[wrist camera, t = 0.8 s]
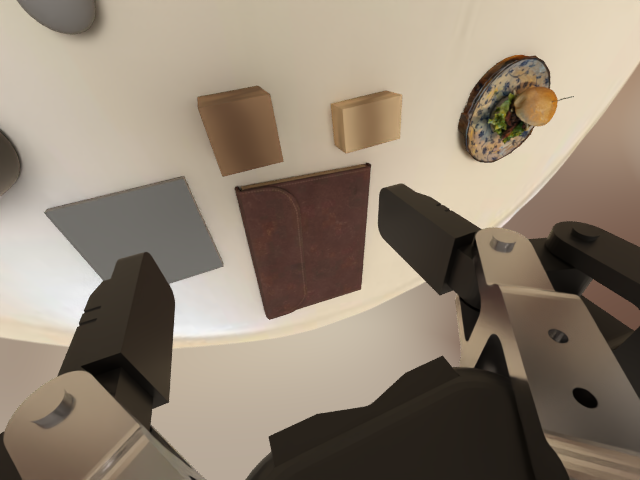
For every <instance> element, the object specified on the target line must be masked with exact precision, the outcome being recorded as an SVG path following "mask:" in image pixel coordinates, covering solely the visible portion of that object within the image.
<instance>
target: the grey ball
mask: <svg viewBox="0 0 640 480" xmlns="http://www.w3.org/2000/svg"><path fill="white" fill-rule="evenodd" d="M17 1H18V3H19V4H20V5H21V6H22V8H23V9H24V10H25V11H26V12H27V13H28V14H29V15H30V16H31V17H33V18H34V19H35V20H36V21H38V22H39V23H41V24H42V25H44V26H46V27H48V28H49V29H52V30H54V31H57V32H60V33H65V34H78V33H81V32H84V31H86V30H87V29H88V28H89V27H90V26H91V25H92V23H93V21H94V18H95V4H94V0H17Z"/></svg>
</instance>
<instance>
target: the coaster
mask: <svg viewBox="0 0 640 480" xmlns="http://www.w3.org/2000/svg"><path fill="white" fill-rule="evenodd" d="M44 213H45V214H46V216H47V217H48V218H49V219H50V220H51V221H52V222H53V224H54V225H55V226H56V227H57V228H58V229H59V230H60V232H61V233H62V234H63V235H64V236H65V237H66V238H67V240H68V241H69V242H70V243H71V244H72V245H73V246H74V248H75V249H76V250H77V251H78V252H79V253H80V254H81V256H82V257H83V258H84V259H85V260H86V261H87V262H88V264H89V265H90V266H91V267H92V268H93V269H94V270H95V272H96V273H97V274H98V275H99V276H100V277H101V278H102V280H103V281H104V280H108V279H111V276H112V273H113V271H114V268H115V265H116V262H117V260H118V259H121V258H125V257H128V256H132V255H136V254H139V253H143V252H148V253H150V254H151V256H152V257H153V259H154V260H155V262H156V264H157V265H158V267H159V269H160V270H161V272H162V274H163V275H164V277H165V279H166V280H167V282H168V284H170V283H173V282H176V281H179V280H182V279H186V278H189V277H192V276H195V275H198V274H201V273H204V272H208V271H211V270H214V269H217V268H220V267H223V262H222V260H221V257H220V255H219V253H218V251H217V249H216V246H215V244H214V242H213V240H212V238H211V235H210V233H209V231H208V229H207V227H206V224H205V222H204V220H203V218H202V216H201V213H200V211H199V209H198V207H197V205H196V202H195V200H194V198H193V196H192V194H191V191H190V189H189V187H188V185H187V183H186V180H185V178H184V176H183V177H179V178H174V179H170V180H166V181H162V182H158V183H154V184H150V185H145V186H141V187H137V188H133V189H129V190H125V191H121V192H116V193H112V194H108V195H104V196H100V197H96V198H91V199H87V200H83V201H79V202H75V203H71V204H67V205H62V206H58V207H54V208H50V209H47V210H46V211H45V212H44Z"/></svg>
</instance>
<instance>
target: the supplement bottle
mask: <svg viewBox="0 0 640 480" xmlns="http://www.w3.org/2000/svg"><path fill="white" fill-rule="evenodd" d="M19 172H20V163H19V158H18V156H17V153H16V151H15V149H14V148H13V146H12V145H11V143H10V142H9V141H8V139H7V138H6V137H5V136H4V135H3V134H2V133H1V132H0V196H2V195H3V194H4V193H5V192H6V191H7V190H8V189H9V188H11V187H12V185H13V184H14V183H15V182H16V180H17V178H18V176H19Z"/></svg>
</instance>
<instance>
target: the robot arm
mask: <svg viewBox="0 0 640 480" xmlns="http://www.w3.org/2000/svg"><path fill="white" fill-rule="evenodd" d="M378 228H379V232H380V234H381V236H382V238H383V239H384V240H385V241H386V242H387V243H388V244H389V245H390V246H391V247H392V248H393V249H394V250H395V251H396V252H397V253H398V254H399V255H400V256H401V257H402V258H403V259H404V260H405V261H406V262H407V263H408V264H409V265H410V266H411V267H412V268H413V269H414V270H415V271H416V272H417V273H418V274H419V275H420V276H421V277H422V278H423V279H424V280H425V281H426V282H427V283H428V284H429V285H430V286H431V287H432V288H433V289H434V290H435V291H436V292H437V293H438V294H439V295H442V294H445V293H447V292H450V291H452V290H454V291H455V292H456V293H457V295H456V299H455V304H456V312H457V320H458V329H459V337H460V345H461V357H460V364H459V367H451V365H450V364H449V363H448V362H447V360H446V359H445V358H444V357H443V356H441V357H439V358H437V359H435V360H432V361H430V362H428V363H426V364H424V365H422V366H419V367H417V368H415V369H413V370H411V371H409V372H407V373H405V374H404V375H403V376H401V377H400V378H399V380H397V381H396V382H395V383H394V384H393V385H392V386H391V387H390V388H388V389H387V390H386V391H385V392H384V393H383V394H382V395H381V396H380V397H379V398H378V399H377V400H375V401H374V402H373V403H372V404H371V405H368V406H365V407H360V408H353V409H347V410H340V411H334V412H328V413H321V414H316V415H314V416H312V417H310V418H307V419H305V420H303V421H301V422H299V423H297V424H295V425H292V426H290V427H288V428H286V429H284V430H282V431H280V432H277V433H275V434H273V435H271V436H269V441H270V446H271V452H270V453H269V454H268V455H267V456H266V457H265V458H264V459H263V460H262V461H261V462H260V463H259V464H258V465H257V466H256V467H255V468H254V469H253V470H252V472H251V473H250V474H249V476H248V477H247V479H246V480H640V327H639V328H638V329H637V330H635V331H634V330H632V329H630V328H629V327H627V326H626V325H624V324H623V323H622V322H620V321H619V320H617V319H616V318H614V317H613V316H611V315H610V314H608V313H607V312H606V311H604V310H603V309H601V308H600V307H598V306H597V305H595V304H594V303H592V302H591V301H589V300H588V299H587V298H585V297H584V296H582V293H583V292H584V290H585V289H586V288H587V286H588V285H589V284H590V282H591V281H592V280H593V279H594V280H596V281H597V282H599V283H600V284H602V285H604V286H605V287H607V288H609V289H610V290H612V291H614V292H615V293H617V294H618V295H620V296H622V297H623V298H625V299H626V300H628V301H629V302H631V303H633V304H634V305H635V306H637V307H638V308H639V310H640V247H638V246H636V245H634V244H632V243H630V242H628V241H626V240H624V239H622V238H619V237H617V236H615V235H613V234H611V233H609V232H607V231H605V230H603V229H600V228H598V227H595V226H593V225H589V224H585V223H581V222H572V221H571V222H570V221H569V222H568V221H567V222H560V223H557V224H555V226H554V227H553V228H552V230H551V232H550V234H549V236H548V238H538V239H527V238H526V237H524V236H523V235H521V234H519V233H517V232H514V231H512V230H508V229H504V228H494V227H493V228H485V229H480V228H479V227H477V226H476V225H474V224H472V223H471V222H469V221H468V220H466V219H464V218H463V217H461V216H460V215H458V214H457V213H455V212H453V211H452V210H451V211H450V210H449V208H447V207H445V206H444V205H441V203H439V202H438V201H436V200H434V199H433V198H431V197H429V196H426V195H423V194H420V193H417V192H415V191H413V190H412V189H410V188H409V187H407V186H406V185H404V184H397V185H393V186H389V187H386V188H382V189H381V191H380V194H379V212H378ZM84 312H85V313H84V314H82V317H81V319H80V322H79V325H80V326H79V327H77V329H76V332H75V334H74V337H73V339H72V342H71V344H70V346H69V349H68V352H67V354H66V356H65V359H64V361H63V364H62V366H61V369H60V371H59V374H58V376H57V377H56V378H54V379H52V380H50V381H49V382H47V383H45V384H44V385H42V386H41V387H40V388H38V389H37V390H36V391H35V392H33V393H32V394H31V395H30V396H29V397H28V398H27V399H26V400H25V401H24V402H23V403H22V404H21V405H20V406H19V407H18V408H17V410H16V411H15V412H14V414H13V415H12V417H11V419H10V420H9V422H8V424H7V426H6V429H5V431H4V432H2V433H1V434H0V480H206V479H205V478H204V477H202V475H200V474H199V473H198V472H197V471H196V470H195V469H194V468H193V467H192V466H191V465H190V464H189V462H187V460H186V459H184V457H183V456H182V455H181V454H180V453H179V452H178V451H177V450H176V449H175V448H174V447H173V446H172V445H171V444H170V443H169V442H168V441H167V440H166V439H165V438H164V437H163V436H162V435H161V434H160V433H159V432H158V431H157V430H156V429H155V428H154V427H153V426H152V425H151V415H152V409H154V408H156V407H159V406H161V405H163V404H166V403H169V392H170V377H171V361H172V345H173V329H174V313H175V299H174V295H173V292H172V289H171V287H170V285H169V284H168V282H167V280H166V279H165V277H164V275H163V274H162V272H161V270H160V269H159V267H158V265H157V264H156V262H155V260H154V259H153V257H152V256H151V254H150V253H148V252H143V253H139V254H136V255H132V256H128V257H125V258H121V259H118V260H117V262H116V265H115V268H114V271H113V273H112V276H111V279H108V280H104V281H103V282H102V283H101V284H100V285H99V286H98V287H97V288H96V290H95V291H94V292H93V293H92V294H91V295H90V297H89V300H88V302H87V304H86V307H85V309H84Z"/></svg>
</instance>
